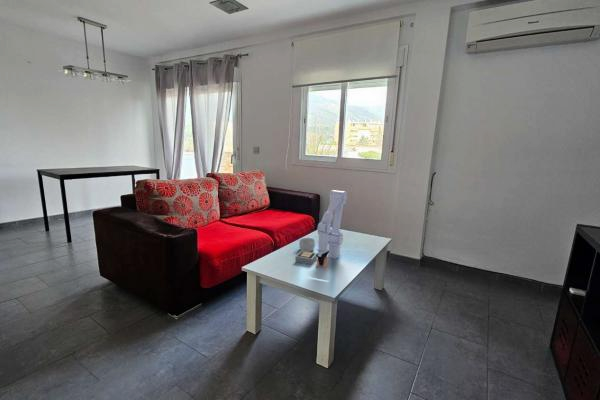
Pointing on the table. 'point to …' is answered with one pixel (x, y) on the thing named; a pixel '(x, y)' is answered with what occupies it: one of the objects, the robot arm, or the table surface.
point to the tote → (305, 260)
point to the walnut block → (306, 255)
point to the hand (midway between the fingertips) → (322, 263)
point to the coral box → (324, 262)
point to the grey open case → (307, 244)
